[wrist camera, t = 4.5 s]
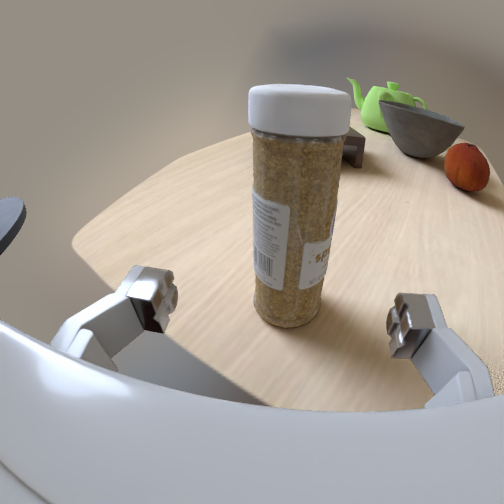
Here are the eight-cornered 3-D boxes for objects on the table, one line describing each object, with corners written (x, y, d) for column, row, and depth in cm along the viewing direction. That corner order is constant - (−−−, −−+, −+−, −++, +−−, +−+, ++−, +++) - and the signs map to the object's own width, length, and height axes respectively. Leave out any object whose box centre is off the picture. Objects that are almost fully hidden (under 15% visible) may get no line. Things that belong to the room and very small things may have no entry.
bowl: (456, 182, 38) (468, 129, 32) (363, 150, 48) (368, 100, 42) (454, 160, 50) (462, 120, 44) (383, 136, 59) (388, 98, 53)
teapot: (431, 143, 60) (438, 94, 51) (369, 134, 59) (374, 78, 50) (398, 126, 75) (402, 84, 66) (342, 119, 74) (345, 74, 65)
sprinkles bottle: (327, 325, 17) (370, 96, 9) (256, 333, 17) (253, 88, 9) (310, 277, 21) (330, 85, 13) (249, 282, 20) (244, 82, 12)
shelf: (257, 165, 40) (256, 111, 35) (255, 143, 49) (255, 101, 44) (361, 168, 40) (367, 118, 35) (339, 145, 49) (343, 106, 44)
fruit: (438, 186, 36) (449, 139, 31) (441, 172, 42) (449, 132, 37) (485, 206, 32) (499, 160, 27) (481, 189, 37) (492, 150, 32)
